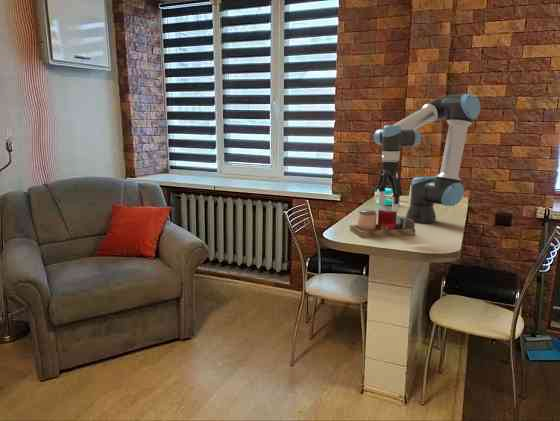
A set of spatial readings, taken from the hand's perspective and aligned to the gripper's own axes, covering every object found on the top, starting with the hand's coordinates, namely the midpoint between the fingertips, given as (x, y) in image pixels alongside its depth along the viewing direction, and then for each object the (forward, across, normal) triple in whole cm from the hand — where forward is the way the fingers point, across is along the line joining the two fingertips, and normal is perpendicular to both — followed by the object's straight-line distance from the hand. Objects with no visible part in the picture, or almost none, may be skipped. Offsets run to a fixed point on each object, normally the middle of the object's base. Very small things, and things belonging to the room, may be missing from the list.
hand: (388, 208), depth 195 cm
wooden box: (+12, 0, -2) cm, 12 cm away
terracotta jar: (+11, 0, -10) cm, 15 cm away
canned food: (+11, 0, 0) cm, 11 cm away
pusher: (+11, 0, +7) cm, 13 cm away
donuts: (+13, -74, +34) cm, 82 cm away
